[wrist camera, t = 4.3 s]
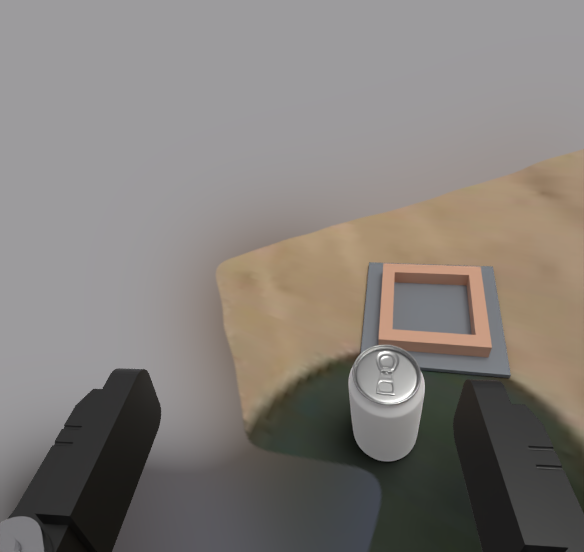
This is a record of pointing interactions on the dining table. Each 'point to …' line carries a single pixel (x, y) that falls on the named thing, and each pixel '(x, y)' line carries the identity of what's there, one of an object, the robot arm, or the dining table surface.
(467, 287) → the tray
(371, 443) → the can
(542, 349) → the dining table surface
